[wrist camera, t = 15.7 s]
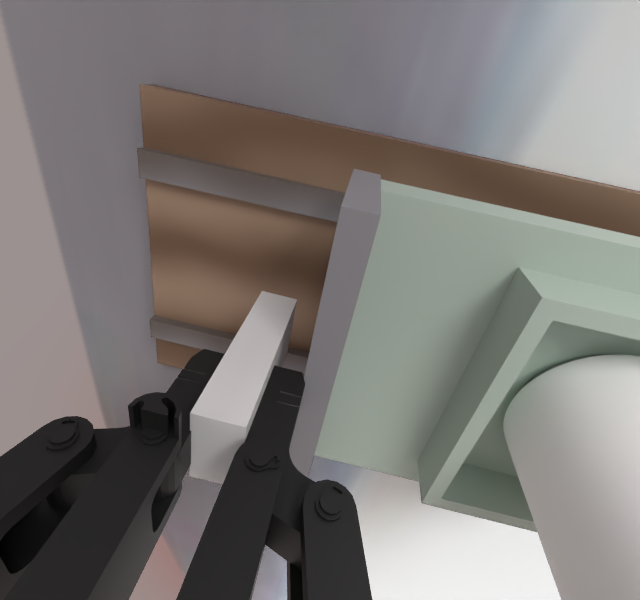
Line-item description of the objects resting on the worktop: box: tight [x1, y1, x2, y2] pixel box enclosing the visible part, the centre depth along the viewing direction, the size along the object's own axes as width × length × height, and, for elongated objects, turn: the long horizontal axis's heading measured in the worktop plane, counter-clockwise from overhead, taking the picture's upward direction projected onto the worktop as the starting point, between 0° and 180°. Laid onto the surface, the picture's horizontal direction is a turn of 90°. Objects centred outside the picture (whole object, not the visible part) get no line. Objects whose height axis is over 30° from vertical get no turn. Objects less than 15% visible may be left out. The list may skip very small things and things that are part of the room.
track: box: [137, 85, 640, 377], centre depth 17 cm, size 15×41×3 cm, turn 79°
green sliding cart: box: [289, 169, 640, 532], centre depth 15 cm, size 13×18×6 cm
